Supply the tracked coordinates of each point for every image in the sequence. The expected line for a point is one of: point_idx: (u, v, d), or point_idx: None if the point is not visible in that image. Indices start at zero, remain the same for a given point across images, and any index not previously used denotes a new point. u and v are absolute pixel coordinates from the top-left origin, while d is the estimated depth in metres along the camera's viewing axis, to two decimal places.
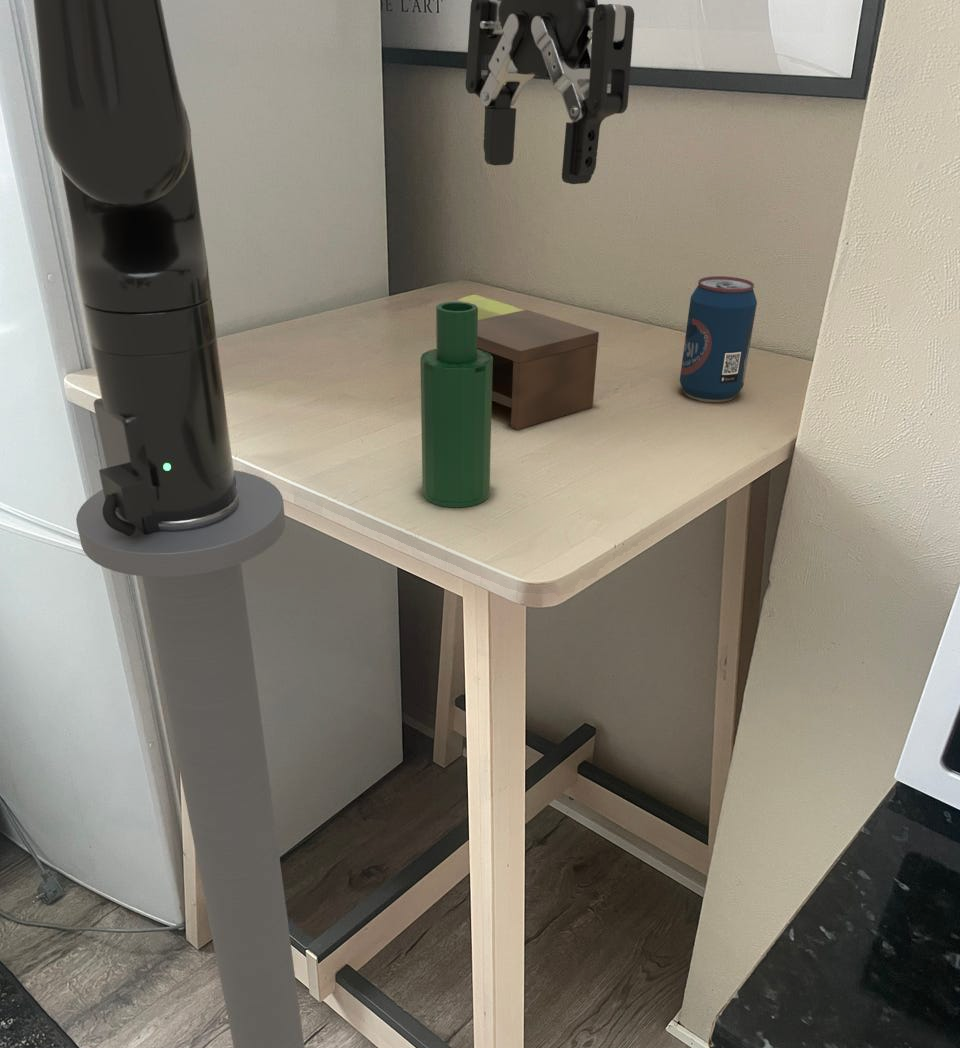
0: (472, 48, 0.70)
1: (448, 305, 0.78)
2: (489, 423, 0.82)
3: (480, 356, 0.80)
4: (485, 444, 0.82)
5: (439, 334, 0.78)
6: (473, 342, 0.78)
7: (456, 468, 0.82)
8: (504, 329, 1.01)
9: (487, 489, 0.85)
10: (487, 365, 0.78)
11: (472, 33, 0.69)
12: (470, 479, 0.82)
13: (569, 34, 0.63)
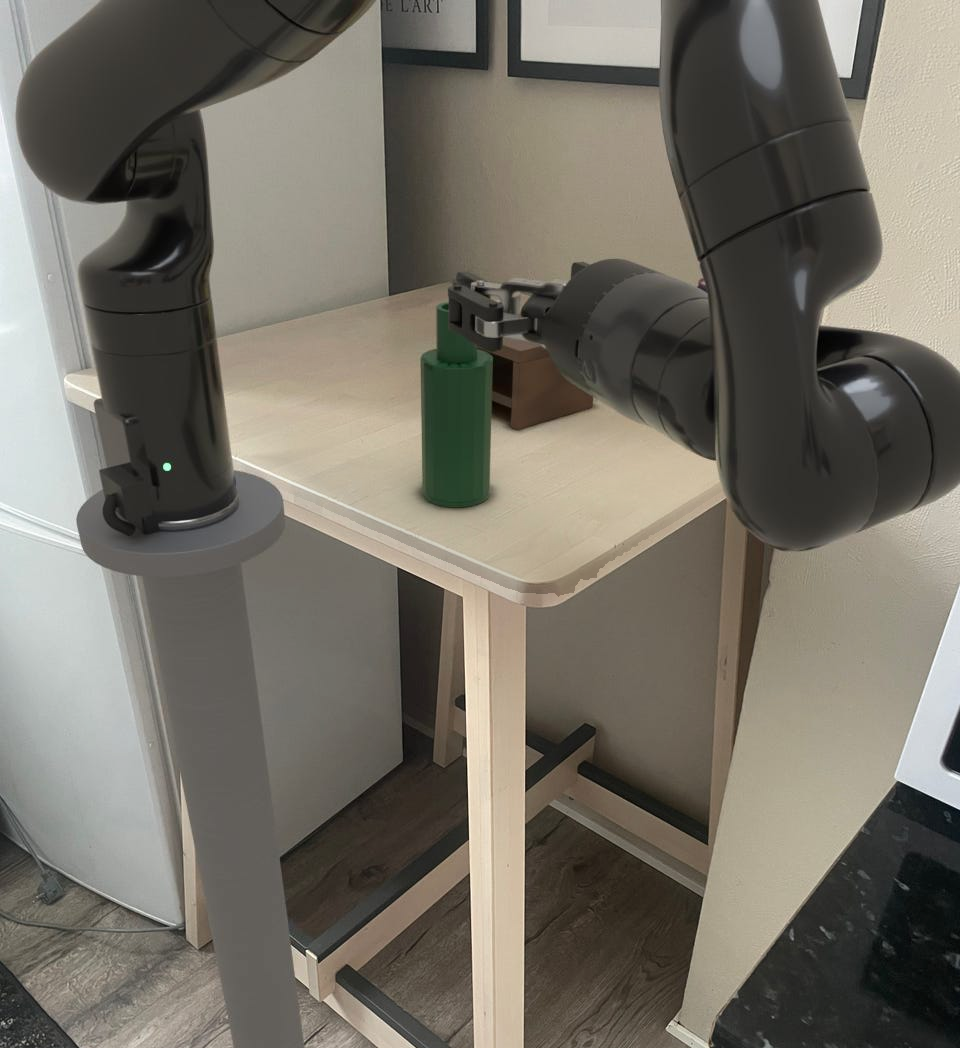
0: None
1: (448, 305, 0.78)
2: (489, 423, 0.82)
3: (480, 356, 0.80)
4: (485, 444, 0.82)
5: (439, 334, 0.78)
6: None
7: (456, 468, 0.82)
8: None
9: (487, 489, 0.85)
10: (487, 365, 0.78)
11: None
12: (470, 479, 0.82)
13: (528, 300, 0.58)
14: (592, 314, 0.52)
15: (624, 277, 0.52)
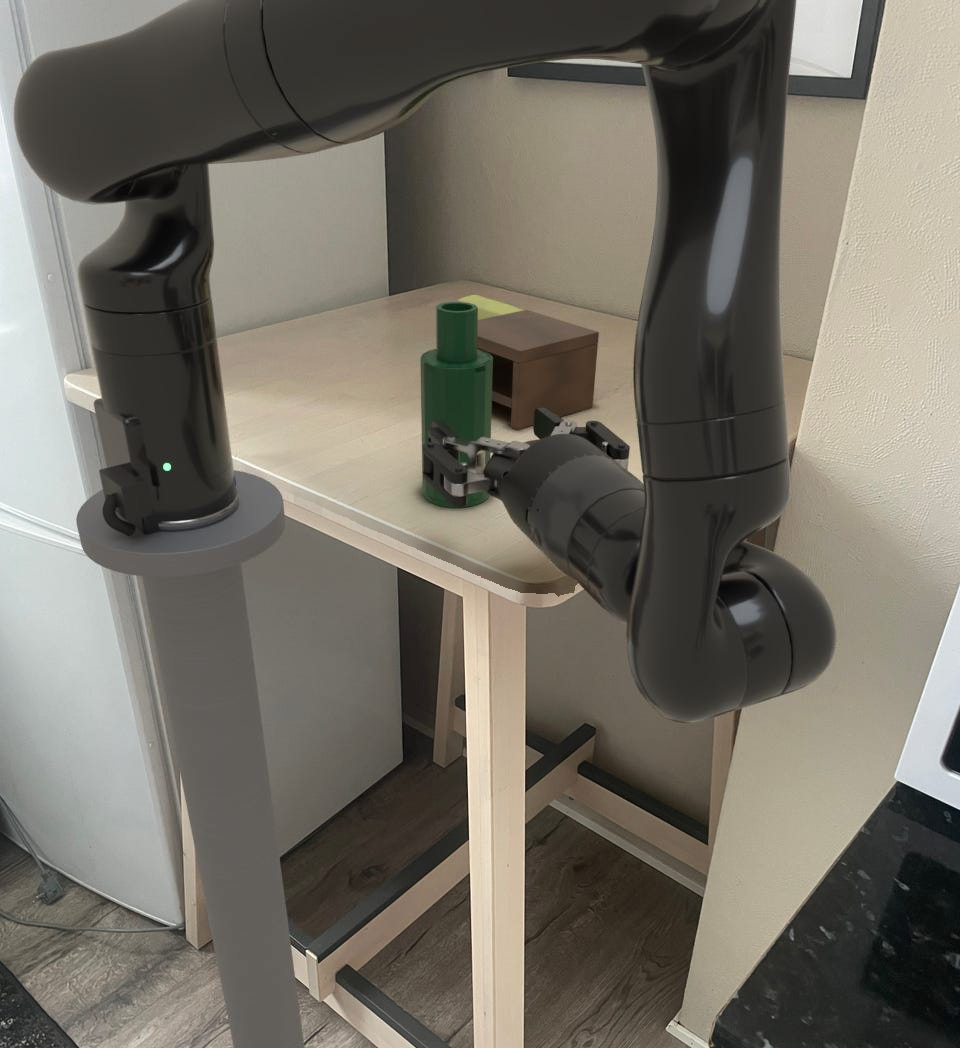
0: (607, 433, 0.72)
1: (448, 305, 0.78)
2: (489, 423, 0.82)
3: (480, 356, 0.80)
4: None
5: (439, 334, 0.78)
6: (473, 342, 0.78)
7: None
8: (504, 329, 1.01)
9: None
10: (487, 365, 0.78)
11: (614, 438, 0.71)
12: None
13: (490, 460, 0.68)
14: (539, 490, 0.62)
15: (566, 459, 0.62)
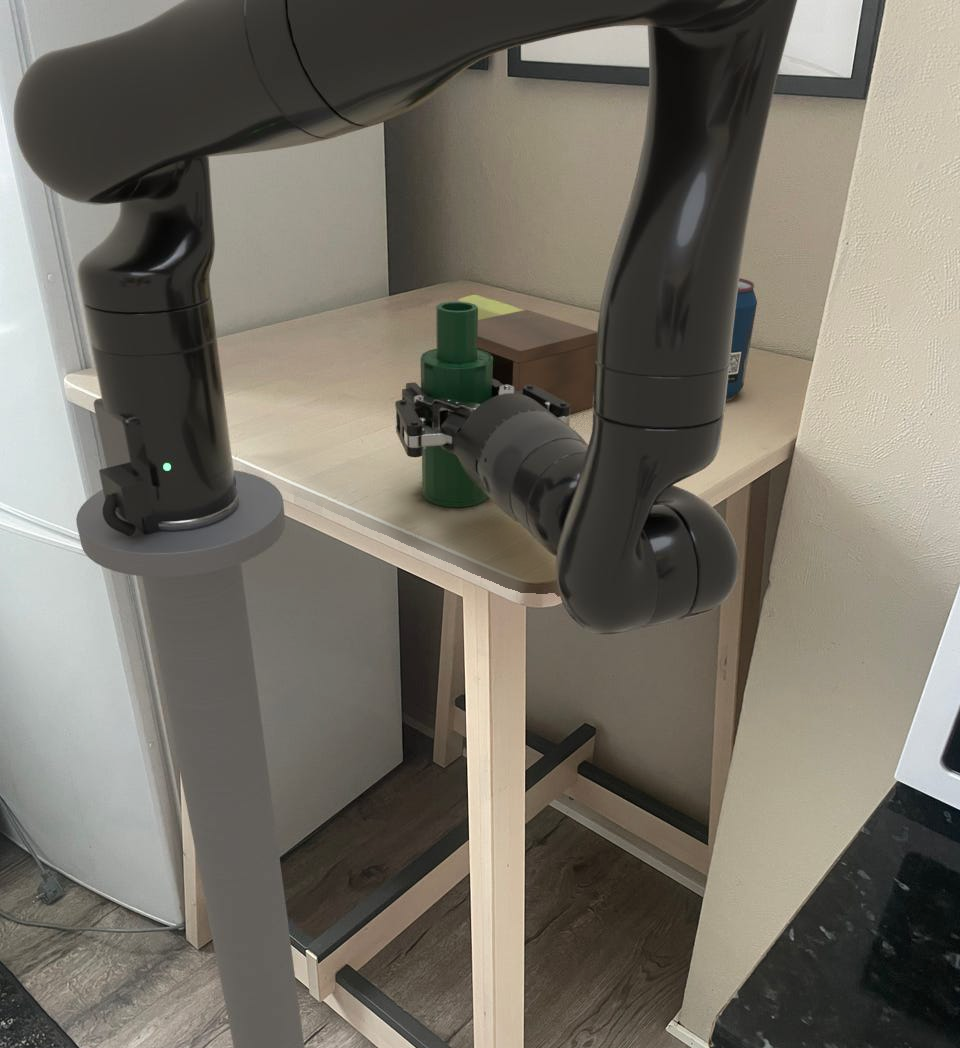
0: (546, 395, 0.79)
1: (448, 305, 0.78)
2: None
3: (480, 356, 0.80)
4: None
5: (439, 334, 0.78)
6: (473, 342, 0.78)
7: (456, 468, 0.82)
8: (504, 329, 1.01)
9: None
10: (487, 365, 0.78)
11: (553, 398, 0.78)
12: (470, 479, 0.82)
13: (446, 419, 0.74)
14: (487, 442, 0.68)
15: (511, 414, 0.68)
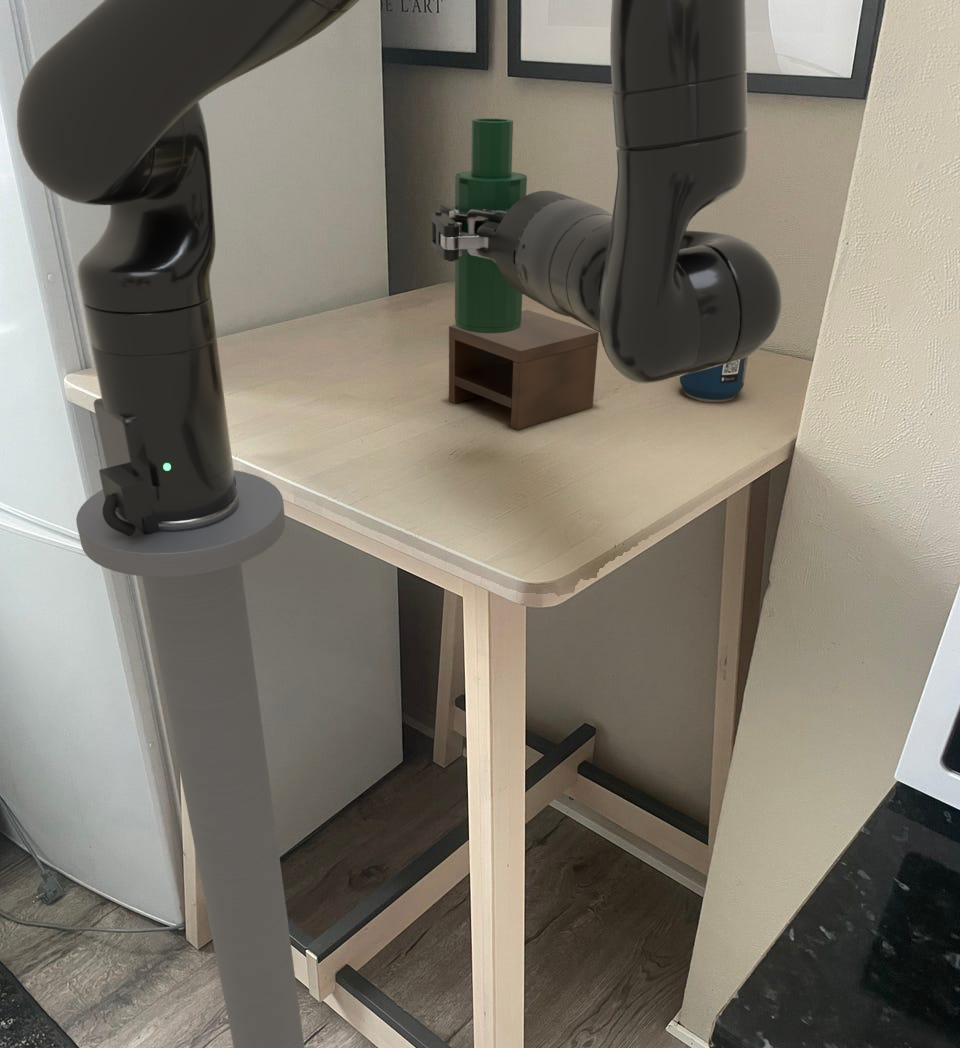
0: None
1: (483, 121, 0.79)
2: None
3: (515, 175, 0.80)
4: None
5: (475, 148, 0.78)
6: (508, 157, 0.79)
7: (490, 290, 0.82)
8: None
9: (519, 318, 0.85)
10: (522, 180, 0.79)
11: None
12: (503, 303, 0.83)
13: (482, 224, 0.75)
14: (525, 229, 0.69)
15: (549, 202, 0.69)
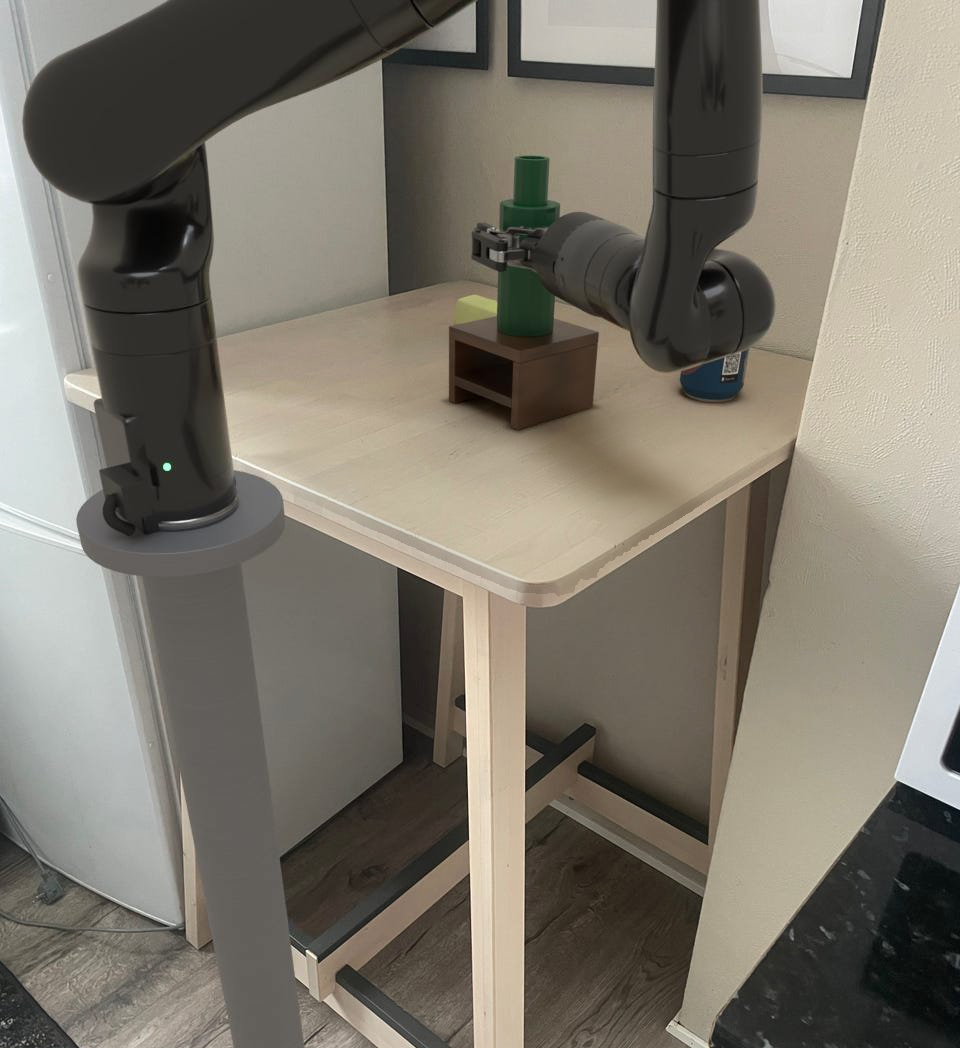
0: None
1: (524, 158, 0.93)
2: None
3: (550, 203, 0.95)
4: None
5: (517, 181, 0.93)
6: (545, 188, 0.93)
7: (528, 300, 0.97)
8: None
9: (552, 324, 1.00)
10: (556, 208, 0.93)
11: None
12: (539, 311, 0.98)
13: (524, 239, 0.89)
14: (563, 244, 0.83)
15: (583, 222, 0.83)
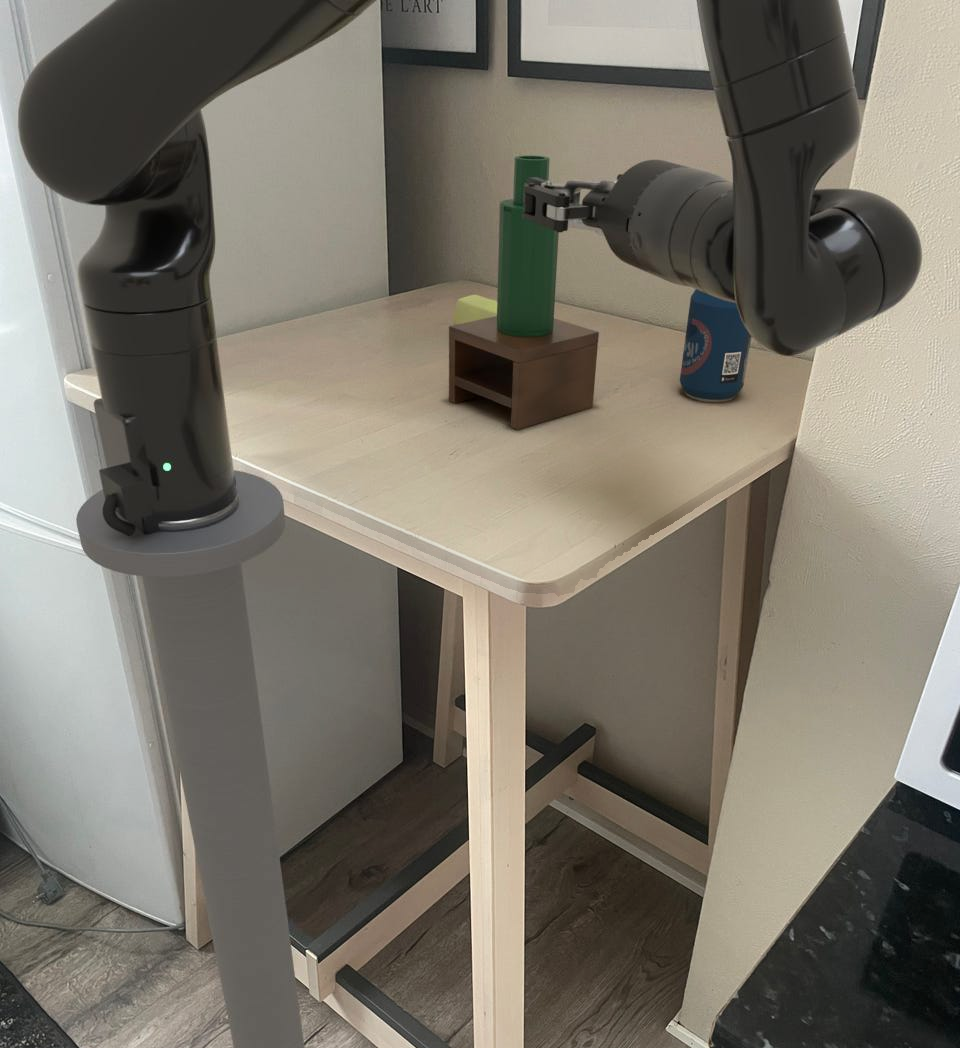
0: None
1: (524, 158, 0.93)
2: (556, 262, 0.97)
3: None
4: (552, 280, 0.97)
5: (517, 181, 0.93)
6: None
7: (528, 300, 0.97)
8: None
9: (552, 324, 1.00)
10: None
11: None
12: (539, 311, 0.98)
13: (587, 194, 0.75)
14: (640, 197, 0.69)
15: (665, 170, 0.69)
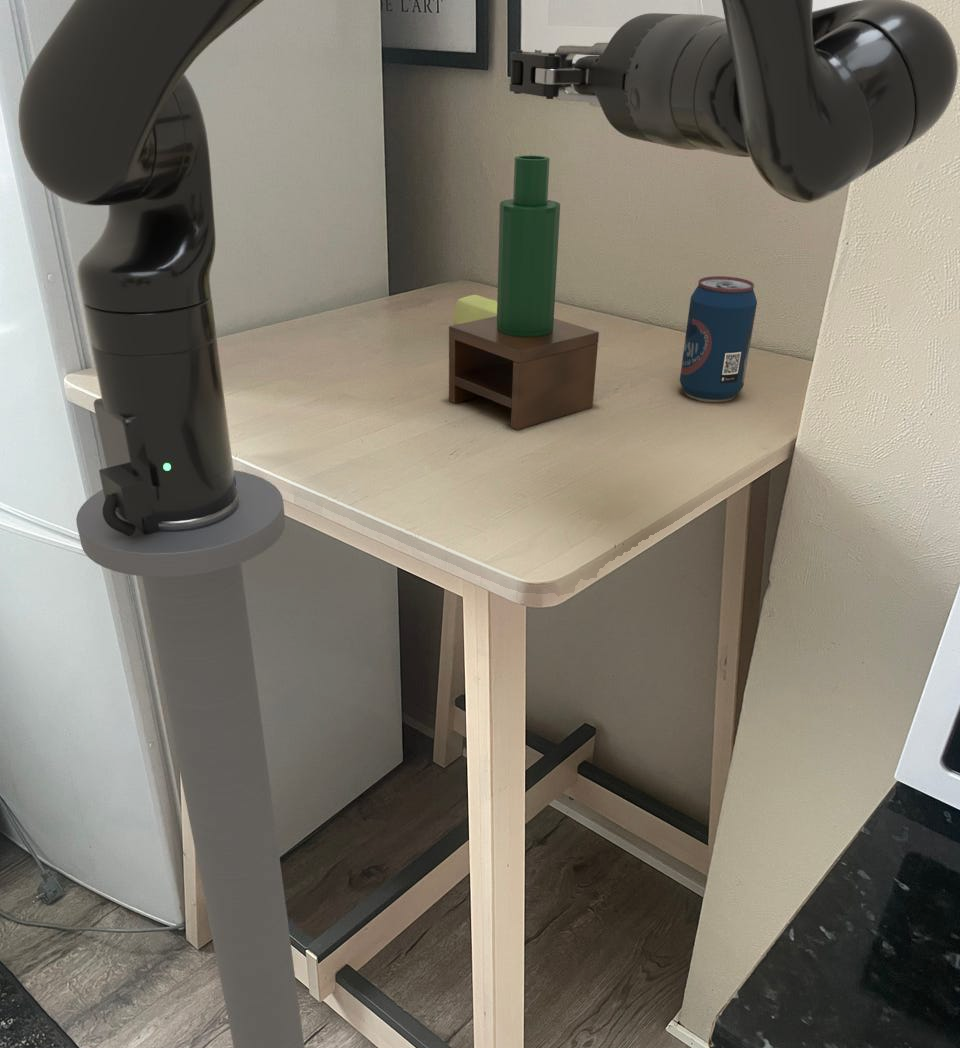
0: None
1: (524, 158, 0.93)
2: (556, 262, 0.97)
3: (550, 203, 0.95)
4: (552, 280, 0.97)
5: (517, 181, 0.93)
6: (545, 188, 0.93)
7: (528, 300, 0.97)
8: None
9: (552, 324, 1.00)
10: (556, 208, 0.93)
11: None
12: (539, 311, 0.98)
13: None
14: (637, 48, 0.62)
15: (665, 17, 0.62)
